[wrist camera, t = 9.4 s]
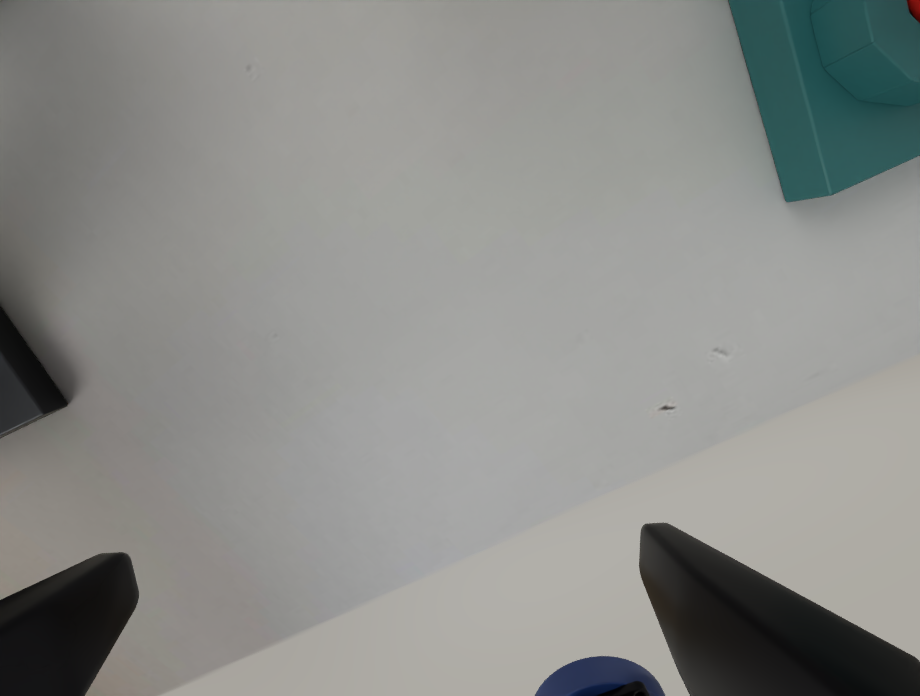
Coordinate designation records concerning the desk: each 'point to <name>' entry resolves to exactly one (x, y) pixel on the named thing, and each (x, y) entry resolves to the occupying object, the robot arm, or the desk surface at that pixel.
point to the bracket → (22, 383)
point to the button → (914, 8)
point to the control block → (833, 88)
